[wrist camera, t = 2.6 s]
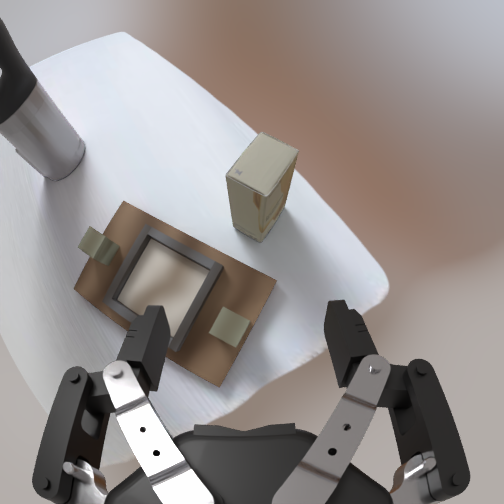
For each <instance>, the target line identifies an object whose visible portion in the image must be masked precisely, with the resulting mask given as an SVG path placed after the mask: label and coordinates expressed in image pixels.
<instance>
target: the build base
mask: <svg viewBox="0 0 504 504" xmlns="http://www.w3.org/2000/svg"><path fill="white" fill-rule="evenodd" d="M78 248H79V249H81V250H82V251H83V252H85V253H86V254H87V255H89V256H90V258H89V259H88V261H87V263H86V265H85V267H84V269H83V271H82V273H81V275H80V277H79V279H78V281H77V283H76V285H75V287H74V290H76V291H77V292H78V293H79V294H80V295H81V296H83V297H84V298H85V299H86V300H87V301H89V302H90V303H91V304H92V305H94V306H95V307H96V308H97V309H99V310H100V311H101V312H103V313H104V314H105V315H106V316H108V317H109V318H110V319H112V320H113V321H114V322H116V323H117V324H118V325H120V326H121V327H123V328H124V329H125V330H127V331H129V328H130V325H131V323H132V321H133V320H134V319H135V318H136V317H137V316H138V315H144V312H145V310H146V307H147V306H148V305H162V306H163V307H164V309H165V313H166V316H167V320H168V323H169V326H170V332H171V335H170V341H169V345H168V349H167V353H166V357H167V358H169V359H170V360H172V361H174V362H175V363H177V364H179V365H180V366H182V367H184V368H185V369H187V370H189V371H190V372H192V373H194V374H196V375H197V376H199V377H201V378H203V379H205V380H206V381H208V382H210V383H212V384H214V385H216V386H218V387H220V386H221V384H222V382H223V380H224V379H225V377H226V375H227V373H228V371H229V370H230V368H231V366H232V364H233V362H234V361H235V359H236V357H237V355H238V353H239V351H240V350H241V348H242V346H243V344H244V342H245V340H246V339H247V337H248V335H249V333H250V331H251V329H252V327H253V325H254V324H255V322H256V320H257V318H258V316H259V314H260V312H261V310H262V308H263V306H264V305H265V303H266V301H267V299H268V297H269V295H270V293H271V291H272V289H273V287H274V285H275V283H276V281H277V280H275V279H273V278H271V277H269V276H267V275H265V274H263V273H261V272H259V271H257V270H255V269H253V268H251V267H249V266H247V265H245V264H243V263H241V262H240V261H238V260H236V259H234V258H232V257H230V256H228V255H226V254H224V253H222V252H220V251H218V250H216V249H214V248H212V247H210V246H209V245H207V244H205V243H203V242H201V241H199V240H197V239H195V238H193V237H191V236H189V235H187V234H185V233H184V232H182V231H180V230H178V229H176V228H174V227H172V226H170V225H168V224H166V223H165V222H163V221H161V220H159V219H157V218H155V217H153V216H151V215H149V214H148V213H146V212H144V211H142V210H140V209H138V208H136V207H134V206H133V205H131V204H129V203H127V202H125V201H123V202H122V204H121V205H120V207H119V208H118V210H117V212H116V213H115V215H114V216H113V218H112V219H111V221H110V223H109V224H108V226H107V228H106V229H105V231H104V233H103V234H101V233H99V232H98V231H96V230H95V229H93V228H92V227H89V228H88V230H87V232H86V234H85V235H84V237H83V239H82V241H81V242H80V244H79V246H78Z"/></svg>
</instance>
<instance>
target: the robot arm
mask: <svg viewBox="0 0 504 504" xmlns="http://www.w3.org/2000/svg"><path fill="white" fill-rule="evenodd" d="M0 68H1V69H2V75H1V77H0V133H1V134H2V135H3V136H4V137H5V138H6V139H7V140H8V141H9V142H10V143H11V144H12V145H13V146H14V147H15V148H16V152H17V153H18V154H19V155H20V156H21V157H22V158H23V159H24V160H25V161H27V162H28V163H29V164H30V165H31V166H32V167H33V168H34V169H36V170H37V171H38V172H39V173H40V174H41V175H42V176H44V177H46V176H47V177H48V178H50V179H51V180H60V179H62V178H64V177H66V176H67V175H69V174H70V173H71V172H72V171H73V170H74V169H75V168H76V167H77V165H78V164H79V162H80V161H81V159H82V157H83V154H84V150H85V144H84V141H83V140H82V139H81V138H80V136H79V135H78V134H77V132H76V131H75V130H74V128H73V127H72V126H71V124H70V123H69V122H68V121H67V119H66V118H65V117H64V115H63V114H62V113H61V111H60V110H59V109H58V107H57V106H56V105H55V103H54V102H53V100H52V99H51V98H50V96H49V95H48V94H47V92H46V91H45V89H44V88H43V87H42V85H41V84H40V82H39V81H38V80H37V78H36V77H35V75H34V74H33V73H32V71H31V70H30V68H29V67H28V66H27V64H26V63H25V61H24V60H23V58H22V56H21V55H20V53H19V51H18V50H17V48H16V46H15V44H14V42H13V40H12V38H11V36H10V34H9V32H8V30H7V28H6V26H5V24H4V23H3V21H2V20H1V18H0ZM324 334H325V338H326V342H327V345H328V349H329V352H330V356H331V359H332V363H333V366H334V370H335V374H336V378H337V382H338V385H339V388H342V387H347V390H346V392H345V394H344V395H343V396H342V398H341V400H340V401H339V403H338V405H337V406H336V408H335V410H334V412H333V413H332V415H331V417H330V418H329V420H328V421H327V423H326V425H325V426H324V428H323V430H322V431H321V433H320V434H319V436H316V435H314V434H312V433H310V432H307V431H304V430H300V429H295V423H290V424H276V425H268V426H264V427H261V428H256V429H252V430H248V431H240V430H235V429H231V428H226V427H222V426H217V425H215V426H213V425H196V424H194V430H193V431H188V432H185V433H182V434H180V435H178V436H176V437H174V438H173V437H172V435H171V434H170V432H169V431H168V429H167V428H166V426H165V425H164V423H163V422H162V420H161V418H160V417H159V415H158V413H157V412H156V410H155V408H154V407H153V405H152V403H151V401H150V400H149V398H148V395H149V391H157V390H158V386H159V381H160V377H161V373H162V369H163V365H164V361H165V357H166V353H167V349H168V345H169V341H170V335H171V332H170V326H169V323H168V320H167V316H166V313H165V309H164V307H163V306H162V305H148V306H147V307H146V310H145V312H144V315H138V316H137V317H136V318H135V319H134V320H133V321H132V323H131V325H130V328H129V331H128V332H127V335H126V338H125V340H124V342H123V344H122V347H121V349H120V352H119V355H118V357H117V360H116V361H114V362H111V363H110V364H108V365H107V366H106V367H105V369H104V371H100V372H94V373H87V371H86V370H85V369H84V368H82V367H79V366H76V367H72V368H70V369H69V370H67V372H66V373H65V374H64V376H63V379H62V381H61V384H60V386H59V389H58V392H57V394H56V397H55V400H54V403H53V406H52V408H51V411H50V414H49V417H48V420H47V424H46V427H45V430H44V433H43V437H42V440H41V444H40V448H39V452H38V456H37V459H36V464H35V468H34V473H33V478H32V483H33V487H34V489H35V491H36V492H37V494H39V495H40V496H41V497H43V498H45V499H47V500H50V501H52V502H54V503H55V504H437V503H440V502H442V501H445V500H447V499H450V498H452V497H454V496H456V495H459V494H460V493H462V492H463V491H464V490H465V489H466V488H467V486H468V484H469V481H470V471H469V467H468V464H467V460H466V456H465V453H464V449H463V446H462V443H461V440H460V436H459V433H458V430H457V428H456V425H455V422H454V419H453V416H452V413H451V411H450V408H449V405H448V403H447V400H446V397H445V395H444V392H443V390H442V388H441V385H440V383H439V380H438V378H437V376H436V373H435V371H434V369H433V367H432V365H431V364H430V363H429V362H427V361H426V360H423V359H415V360H412V361H411V362H410V363H409V365H408V366H400V365H392V364H389V362H388V361H387V360H386V359H385V358H384V357H382V356H379V354H378V352H377V350H376V348H375V345H374V343H373V341H372V338H371V336H370V334H369V332H368V330H367V327H366V325H365V323H364V321H363V318H362V316H361V315H360V314H359V313H358V312H357V311H356V310H355V309H351V310H349V309H348V307H347V304H346V302H345V300H334V301H329V302H328V306H327V311H326V316H325V322H324ZM377 407H386V408H388V410H389V414H390V417H391V421H392V425H393V429H394V433H395V437H396V442H397V446H398V451H399V455H400V460H401V466H400V467H399V468H398V469H397V470H396V472H395V474H394V478H393V487H392V489H391V491H390V492H388V491H387V490H386V489H385V488H384V487H383V486H381V485H380V484H378V483H377V482H376V481H374V480H373V479H371V478H370V477H369V476H367V475H366V474H365V473H363V472H362V471H361V470H359V469H358V468H357V467H355V466H354V465H353V464H352V463H350V461H351V459H352V457H353V456H354V454H355V452H356V450H357V448H358V446H359V445H360V442H361V441H362V439H363V437H364V434H365V432H366V430H367V429H368V427H369V424H370V422H371V420H372V418H373V416H374V413H375V411H376V408H377ZM113 412H115V414H116V417H117V419H118V421H119V423H120V426H121V428H122V430H123V432H124V434H125V436H126V438H127V440H128V442H129V444H130V446H131V448H132V450H133V451H134V453H135V455H136V457H137V458H138V461H139V462H140V464H141V467H139V468H138V469H137V470H136V471H135V472H134V473H132V474H131V475H130V476H129V477H127V478H126V479H125V480H124V481H122V482H121V483H120V484H119V485H118V486H116V487H115V488H114V489H112V490H111V491H110V492H109V493H108V491H107V489H106V480H105V477H104V475H103V474H102V473H101V472H100V471H99V468H100V462H101V456H102V450H103V445H104V440H105V435H106V430H107V426H108V421H109V417H110V413H113Z"/></svg>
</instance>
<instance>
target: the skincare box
mask: <svg viewBox="0 0 504 504" xmlns="http://www.w3.org/2000/svg"><path fill="white" fill-rule="evenodd" d="M298 152H299V151H298V150H297V149H295V148H293V147H291V146H290V145H288V144H286V143H284V142H282V141H280V140H278V139H276V138H274V137H272V136H270V135H268V134H266V133H264V132H261V133H259V134H258V136H257V137H256V138H255V139H254V140H253V141H252V143H251V144H250V145H249V146H248V147H247V148H246V149H245V151H244V152H243V153H242V155H241V156H240V157H239V158H238V160H237V161H236V162H235V163H234V165H233V166H232V167H231V168H230V170H229V171H228V172H227V173H226V182H227V189H228V196H229V202H230V209H231V216H232V222H233V227H234V228H236V229H238V230H239V231H241V232H242V233H244V234H246V235H247V236H249V237H251V238H253V239H254V240H256V241H258V242H260V243H261V242H262V241H263V240H264V238H265V237H266V235H267V234H268V233H269V231H270V230H271V228H272V227H273V225H274V224H275V222H276V220H277V219H278V217H279V215H280V214H281V212H282V210H283V209H284V207H285V204H286V200H287V195H288V191H289V188H290V184H291V180H292V176H293V172H294V168H295V164H296V160H297V155H298Z"/></svg>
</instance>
